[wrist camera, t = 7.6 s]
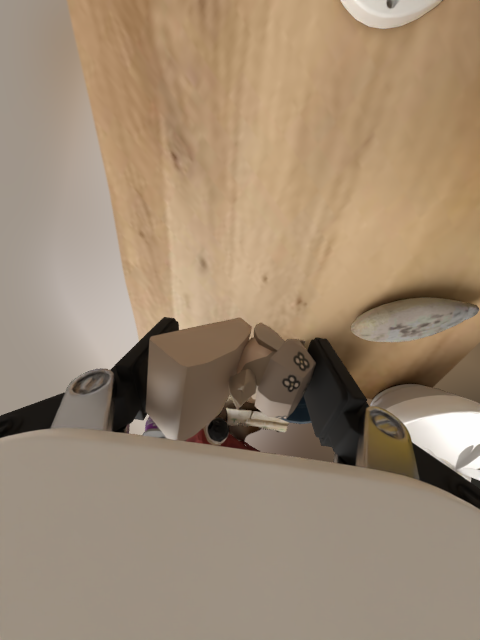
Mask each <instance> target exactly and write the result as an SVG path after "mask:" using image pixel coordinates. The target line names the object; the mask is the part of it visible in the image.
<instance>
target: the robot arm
mask: <svg viewBox="0 0 480 640" xmlns="http://www.w3.org/2000/svg"><path fill="white" fill-rule="evenodd" d="M442 1H443V0H341V2H342V4H343V6H344V7H345V9H346V10H347V11H348V12H349V13H350V14H351V15H352V16H353V17H354V18H355V19H356V20H358V21H359V22H361V23H363V24H365V25H367V26H369V27H374V28H380V29H387V28H394V27H400V26H403V25H405V24H407V23H409V22H412V21H414V20H416V19H418V18H420V17H421V16H423V15H424V14H426V13H427V12H429V11H430V10H432V9H433V8H435V7H436V6H437V5H438V4H439V3H440V2H442ZM174 331H179V325H178V322H177V321H176V320H175V319H174V318H167V317H164V318H163V319H162V320H161V321H160V322H159V323H158V324H157V325H156V326H154V327H153V328H152V329H151V330H150V331H149V332H148V333H147V334H146V335H145V336H144V337H143V338H142V339H141V340H140V341H139V342H138V343H137V344H136V345H135V346H134V347H133V348H132V349H131V350H130V351H129V352H128V353H127V354H126V355H125V356H124V357H123V358H122V359H121V360H120V361H119V362H118V363H117V364H116V365H115V366H114V367H113V368H112V369H111V370H108V369H95V370H91V371H88V372H86V373H83V374H82V375H80V376H78V377H77V378H75V379H74V380H73V381H72V382H71V383H70V384H69V386H68V387H67V389H66V392H65V393H62V394H59V395H56V396H54V397H51V398H48V399H45V400H42V401H40V402H37V403H34V404H31V405H29V406H26V407H23V408H21V409H18V410H15V411H12V412H9V413H7V414H4V415H1V416H0V640H480V489H479V488H478V487H476V486H475V485H474V484H472V483H471V482H470V481H468V480H467V479H465V478H464V477H462V476H461V475H459V474H458V473H456V472H455V471H453V470H452V469H451V468H449V467H448V466H446V465H445V464H443V463H442V462H440V461H439V460H437V459H436V458H435V457H433V456H432V455H430V454H429V453H427V452H426V451H424V450H423V449H421V448H420V447H418V446H417V445H416V444H414V443H413V442H412V441H411V436H410V433H409V431H408V429H407V428H406V426H405V425H404V424H403V423H402V422H401V421H400V420H399V419H398V418H397V417H396V416H395V415H393V414H392V413H390V412H389V411H387V410H385V409H383V408H380V407H376V406H369V405H368V404H367V402H366V401H367V399H366V397H365V396H364V394H363V393H362V391H361V390H360V388H359V387H358V385H357V384H356V382H355V381H354V379H353V378H352V376H351V375H350V373H349V372H348V370H347V369H346V367H345V366H344V364H343V363H342V361H341V360H340V358H339V357H338V355H337V354H336V352H335V351H334V349H333V348H332V346H331V345H330V343H329V342H328V340H327V339H322V338H315V339H314V340H311V342H310V345H309V348H308V350H307V351H308V353H309V354H310V355H311V357H312V358H313V359H314V361H315V362H316V365H315V368H314V371H313V374H312V378H311V380H310V382H309V385H308V387H307V389H306V391H305V393H304V399H305V402H306V405H307V409H308V412H309V415H310V419H311V422H312V426H313V429H314V432H315V435H316V437H319V439H320V443H321V445H322V446H329V447H332V448H333V451H334V452H335V454H334V461H333V463H332V462H325V461H318V460H311V459H305V458H298V457H292V456H285V455H278V454H271V453H263V452H257V451H250V450H243V449H236V448H229V447H222V446H215V445H208V444H201V443H194V442H187V441H179V440H172V439H165V438H158V437H150V436H143V435H135V434H129V424H130V423H131V422H133V420H134V419H138V420H144V418H145V417H146V415H147V412H146V395H147V376H148V358H149V340H150V338H151V336H156V335H160V334H165V333H169V332H174Z"/></svg>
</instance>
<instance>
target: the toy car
mask: <svg viewBox="0 0 480 640" xmlns="http://www.w3.org/2000/svg"><path fill="white" fill-rule="evenodd" d="M186 441H187V442H194V443H201V444H208V445H215V446H222V447H229V448H236V449H243V450H250V451H257V452H260V451H259V450H257V449H255V448H253V447H252V446H250V445H249V444H248V443H246V442H244V441H239V440H237V439H236V438H235V437H234V436H232V435H231V434H230V433H229V426H228V424H227V423H226V422H225V420H224V419H222V418H214V419H213V420H212V421H210V422H209V423H208V424H207V425H206V426H205V427H204V428H202V429H201V430H200V431H199V432H198V433H197V434H195V435H194V436H193V437H191V438H189V439H187V440H186ZM244 444H245V445H246V446H247V447H246V446H245V445H244Z"/></svg>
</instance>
